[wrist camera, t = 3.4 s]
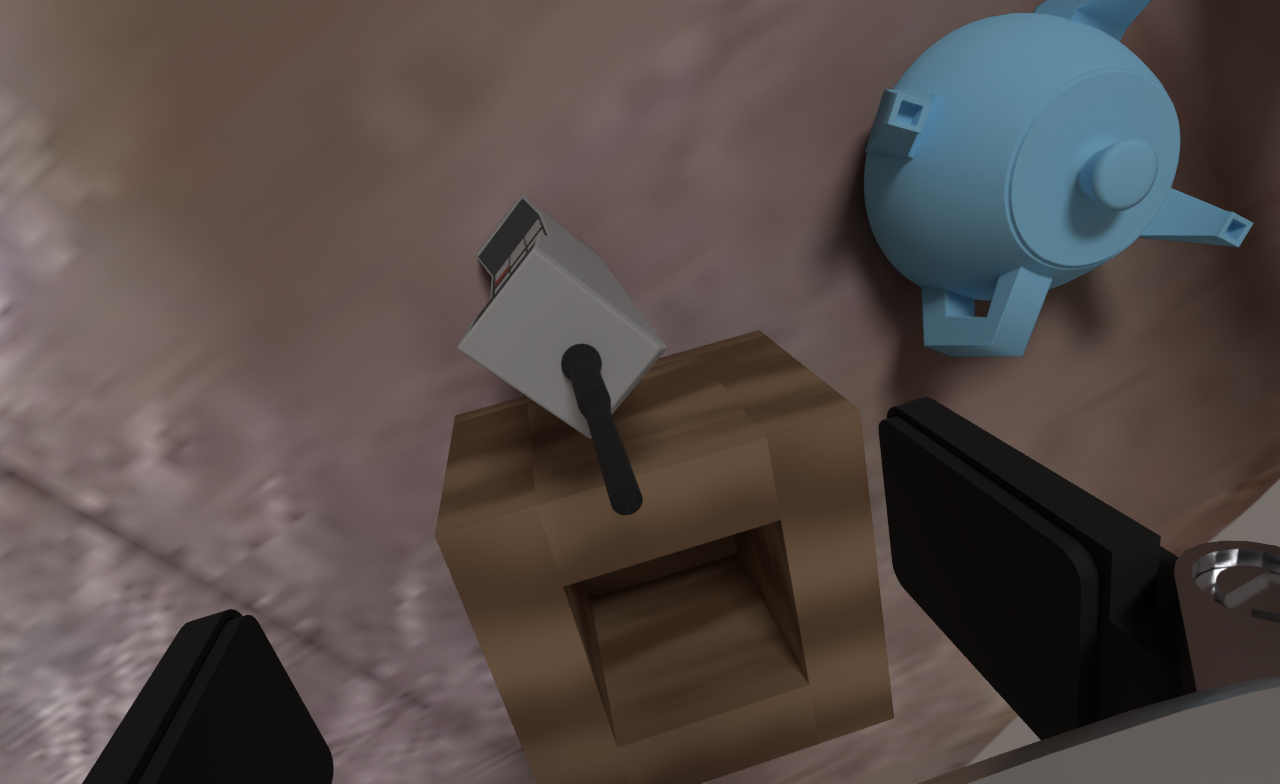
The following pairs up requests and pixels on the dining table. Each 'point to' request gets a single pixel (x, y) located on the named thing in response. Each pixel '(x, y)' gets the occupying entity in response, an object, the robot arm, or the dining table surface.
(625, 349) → the vintage mobile phone
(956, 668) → the dining table surface
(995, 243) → the teapot
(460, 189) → the dining table surface
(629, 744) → the well block
